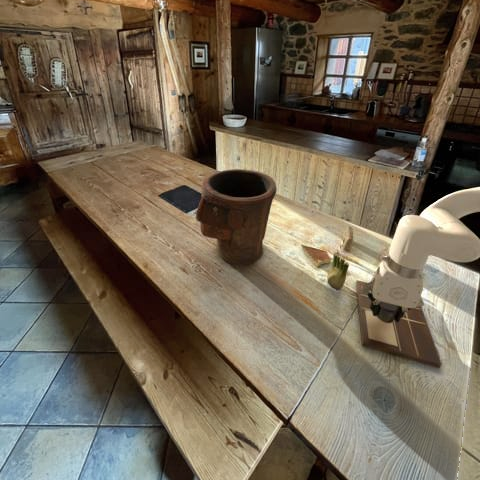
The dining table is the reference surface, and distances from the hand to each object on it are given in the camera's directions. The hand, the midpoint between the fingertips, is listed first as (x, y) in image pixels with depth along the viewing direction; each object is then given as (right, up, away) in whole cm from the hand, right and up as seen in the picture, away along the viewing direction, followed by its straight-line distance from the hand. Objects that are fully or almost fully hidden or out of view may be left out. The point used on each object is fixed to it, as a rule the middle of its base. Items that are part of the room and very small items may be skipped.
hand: (384, 314), depth 72 cm
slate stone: (0, 0, 0) cm, 0 cm away
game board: (+5, -5, +6) cm, 9 cm away
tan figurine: (+3, +9, +35) cm, 37 cm away
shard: (-11, +6, +29) cm, 31 cm away
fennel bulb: (-8, +1, +17) cm, 19 cm away
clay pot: (-41, +8, +31) cm, 53 cm away
